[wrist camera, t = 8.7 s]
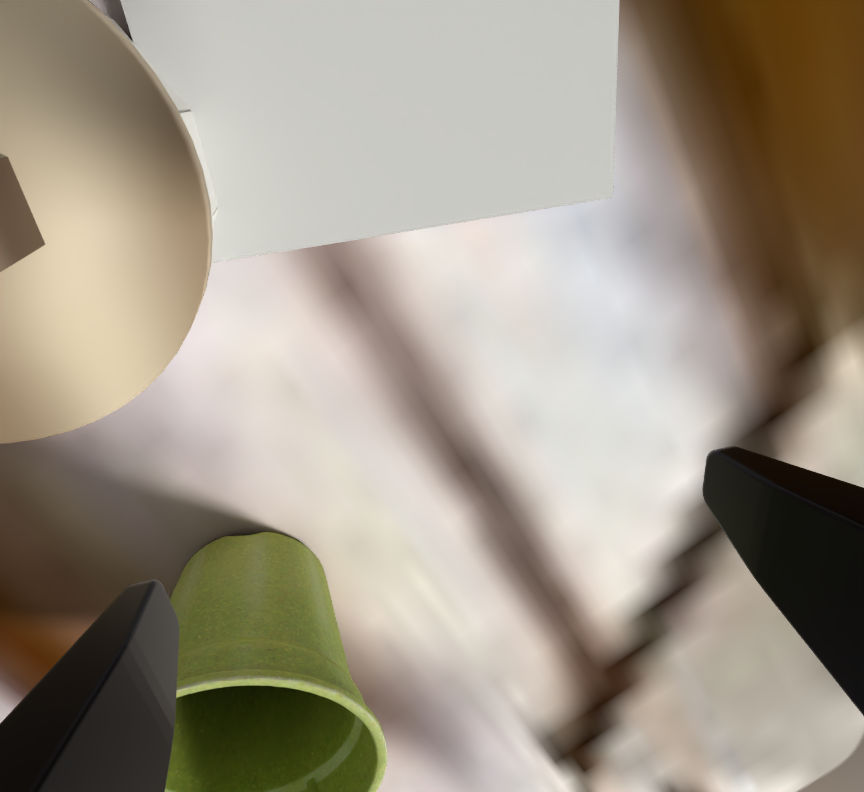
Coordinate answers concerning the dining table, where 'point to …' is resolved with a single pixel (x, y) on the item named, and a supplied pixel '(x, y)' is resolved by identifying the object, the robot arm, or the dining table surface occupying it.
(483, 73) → the mat
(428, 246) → the dining table surface
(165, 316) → the lid
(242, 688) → the plant pot
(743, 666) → the dining table surface
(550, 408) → the dining table surface
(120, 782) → the robot arm
